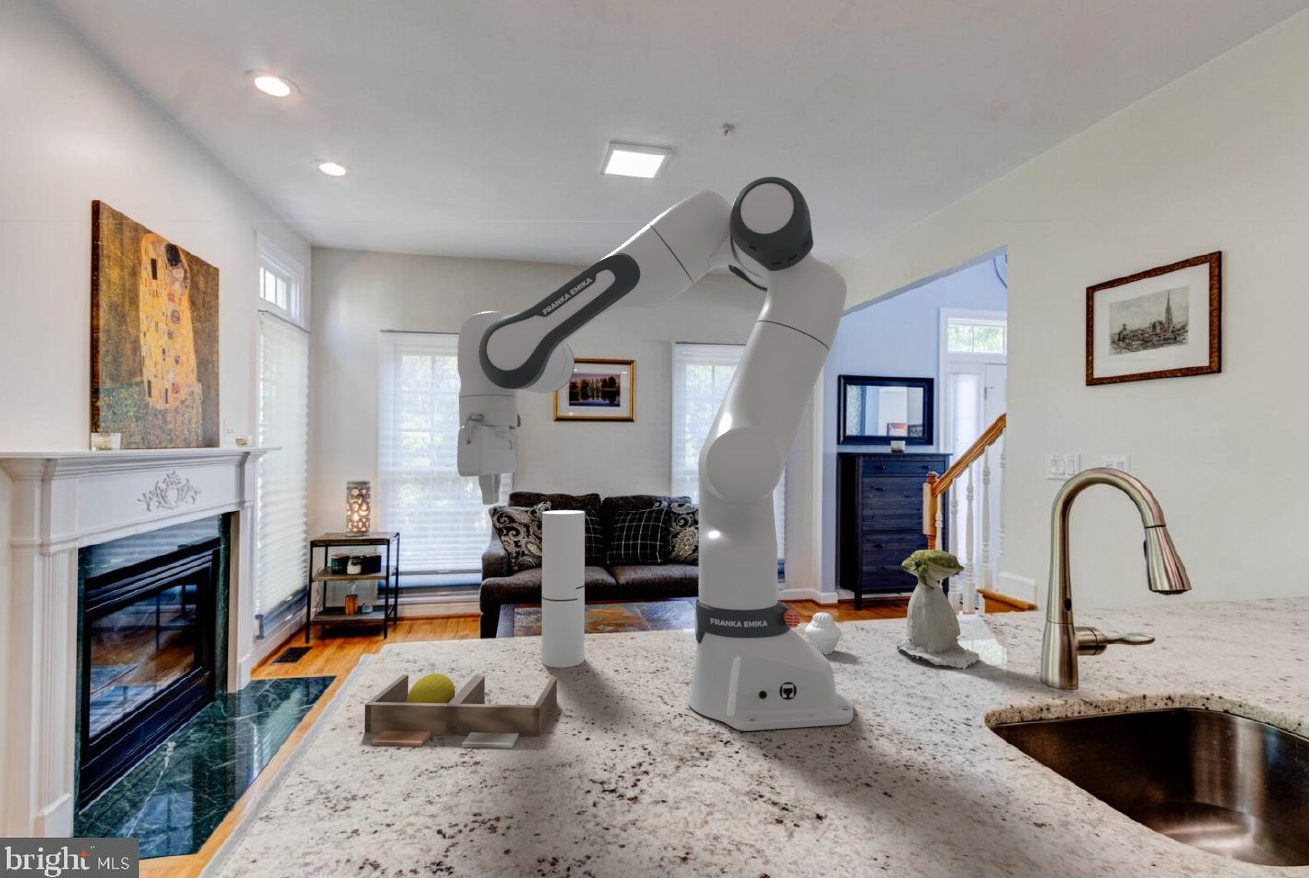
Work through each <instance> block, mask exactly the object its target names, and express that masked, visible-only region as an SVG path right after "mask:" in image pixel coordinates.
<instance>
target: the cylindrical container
mask: <svg viewBox="0 0 1309 878" xmlns="http://www.w3.org/2000/svg"><path fill="white" fill-rule="evenodd" d="M541 515H542V516H541V517H542V518H541V519H542V521H541V523H542V524H541V528H542V530H541V531H542V533H541V535H542V536H541V537H542V538H541V539H542V542H541V546H542V549H541V557H542V559H541V568H542V569H541V596H542V597H541V663H542V664H543V665H544V666H547V667H549V668H571V667H575V666H578V665H581V664H583V663H584V661H585V604H586V603H585V600H586V599H585V598H586V597H585V587H586V586H585V582H586V581H585V578H586V577H585V575H586V574H585V572H586V570H585V569H586V568H585V563H586V562H585V561H586V559H585V557H586V555H585V554H586V550H585V549H586V547H585V546H586V544H585V543H586V542H585V541H586V540H585V539H586V538H585V537H586V530H585V527H586V522H585V521H586V512H585V511H584V510H572V509H570V510H568V509H567V510H563V509H562V510H547V511H542V513H541Z"/></svg>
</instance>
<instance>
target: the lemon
mask: <svg viewBox="0 0 1309 878" xmlns="http://www.w3.org/2000/svg"><path fill="white" fill-rule="evenodd" d="M455 696H456V688H455V685H454V682H453V680H452V679H451V678H450V677H448V676H447V675H445V674H443V673H442V674H441V673H437V672H436V673H429V674H427V675H425V676H423V677H421V678H420V679H419V680H417V681H416V682H415V683H414V684H413V686H412V687H411V688H410V690H408V696H407V701H406V703H447V704H448V703H449V702H450V701H451V700H452V699H453V698H454V697H455Z"/></svg>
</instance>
